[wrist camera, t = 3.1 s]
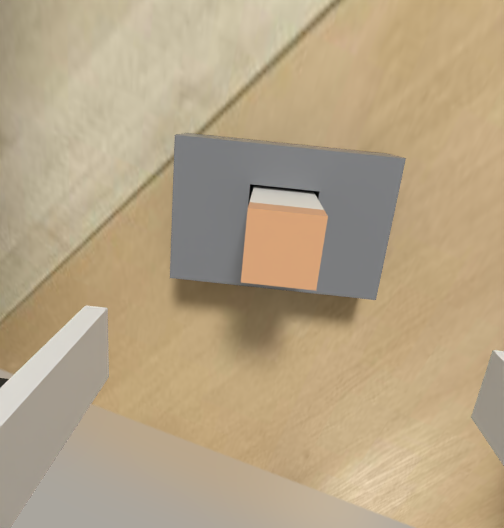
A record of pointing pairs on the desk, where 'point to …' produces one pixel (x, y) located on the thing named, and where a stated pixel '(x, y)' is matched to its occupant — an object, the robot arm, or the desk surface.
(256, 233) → the plug
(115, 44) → the desk surface
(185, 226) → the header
